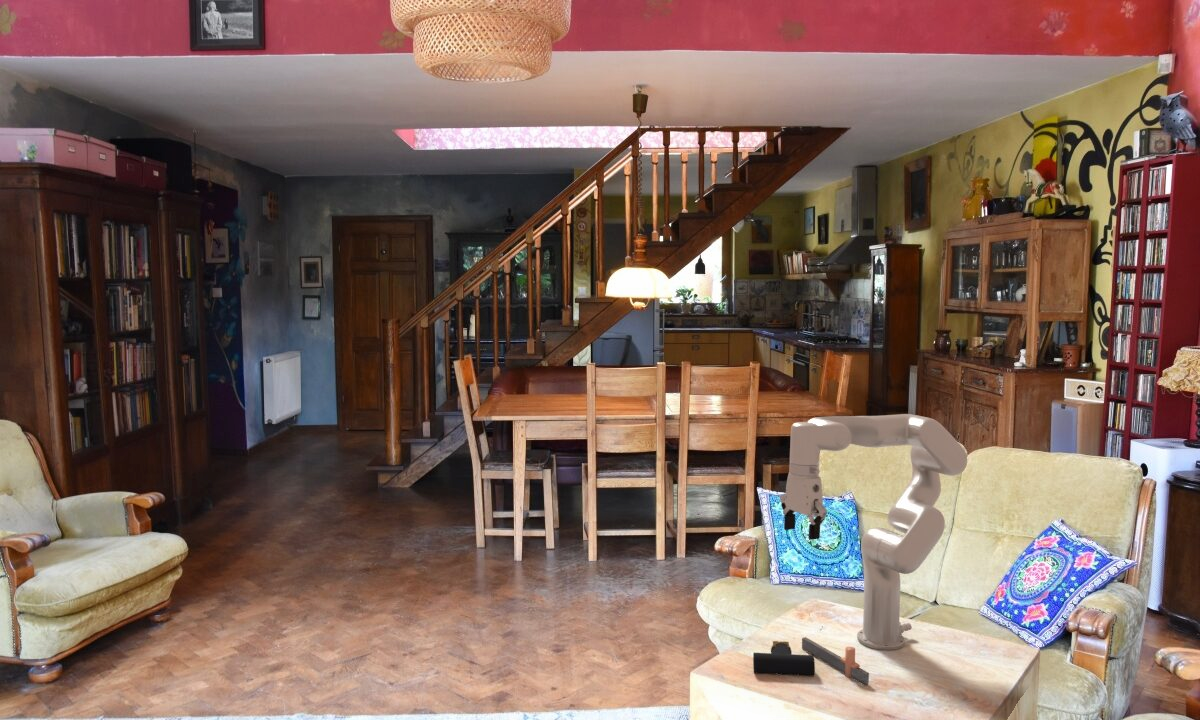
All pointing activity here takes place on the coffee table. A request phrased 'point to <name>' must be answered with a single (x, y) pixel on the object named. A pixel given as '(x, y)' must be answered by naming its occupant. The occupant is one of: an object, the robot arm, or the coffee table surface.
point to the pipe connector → (783, 661)
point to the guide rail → (838, 660)
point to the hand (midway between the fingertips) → (801, 534)
